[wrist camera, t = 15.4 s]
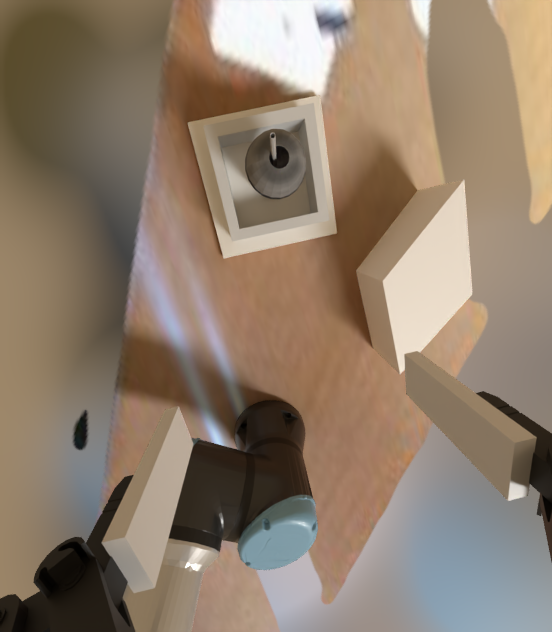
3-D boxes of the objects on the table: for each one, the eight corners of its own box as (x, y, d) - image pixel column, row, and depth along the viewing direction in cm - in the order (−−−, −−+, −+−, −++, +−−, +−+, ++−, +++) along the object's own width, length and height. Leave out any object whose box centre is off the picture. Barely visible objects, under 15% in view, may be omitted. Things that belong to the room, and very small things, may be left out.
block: (337, 344, 53) (358, 370, 43) (376, 182, 44) (413, 168, 34) (405, 351, 55) (440, 378, 45) (455, 198, 46) (512, 189, 36)
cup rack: (335, 233, 46) (347, 233, 41) (224, 257, 46) (220, 261, 40) (318, 98, 40) (329, 76, 34) (188, 125, 39) (178, 107, 34)
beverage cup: (278, 215, 44) (299, 204, 25) (238, 192, 42) (228, 161, 23) (300, 172, 42) (340, 125, 23) (259, 146, 40) (267, 72, 21)
